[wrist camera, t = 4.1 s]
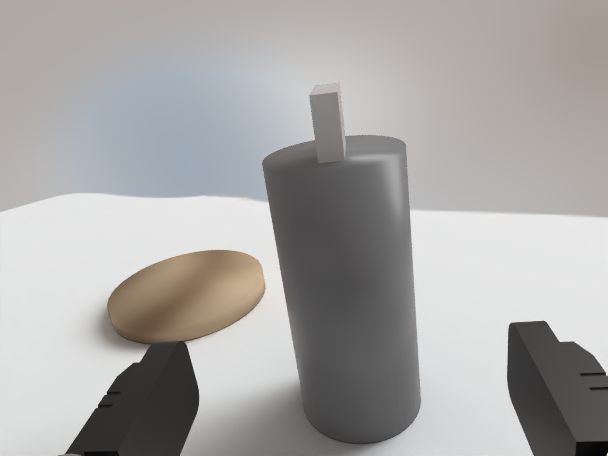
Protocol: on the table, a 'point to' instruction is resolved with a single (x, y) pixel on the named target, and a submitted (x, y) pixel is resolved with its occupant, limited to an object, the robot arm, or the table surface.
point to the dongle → (347, 275)
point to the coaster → (186, 296)
